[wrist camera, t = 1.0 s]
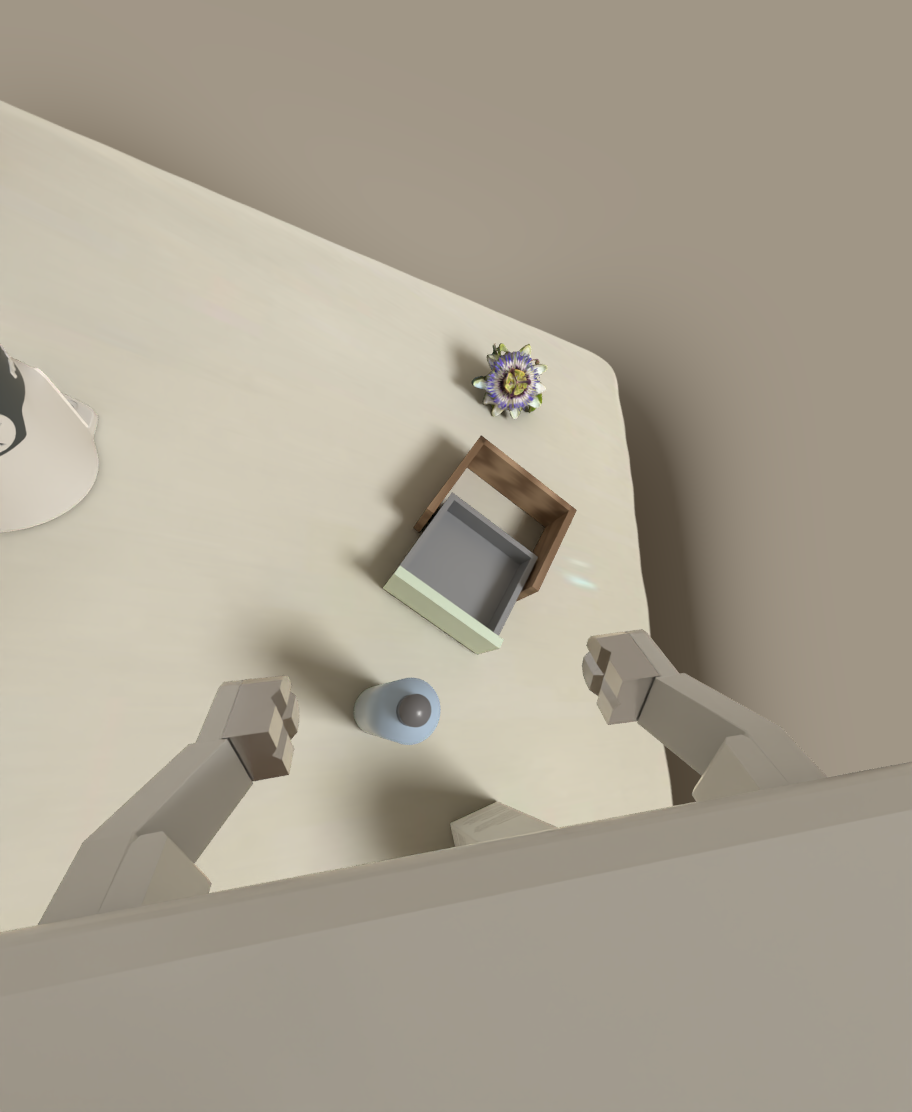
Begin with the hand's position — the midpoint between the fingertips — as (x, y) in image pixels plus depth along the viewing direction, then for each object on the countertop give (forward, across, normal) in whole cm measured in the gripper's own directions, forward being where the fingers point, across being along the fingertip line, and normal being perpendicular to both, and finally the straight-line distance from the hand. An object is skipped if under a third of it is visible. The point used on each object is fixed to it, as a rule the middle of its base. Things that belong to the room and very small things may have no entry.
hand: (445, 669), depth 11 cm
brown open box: (+41, -11, +20) cm, 47 cm away
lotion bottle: (+21, +6, +30) cm, 37 cm away
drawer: (+35, -6, +23) cm, 43 cm away
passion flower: (+62, -18, +7) cm, 65 cm away
